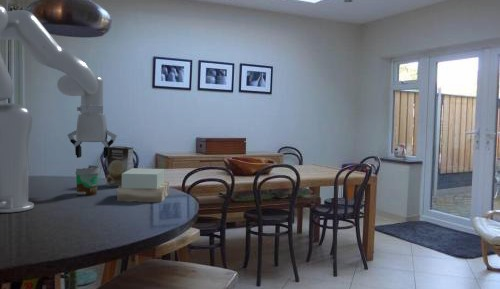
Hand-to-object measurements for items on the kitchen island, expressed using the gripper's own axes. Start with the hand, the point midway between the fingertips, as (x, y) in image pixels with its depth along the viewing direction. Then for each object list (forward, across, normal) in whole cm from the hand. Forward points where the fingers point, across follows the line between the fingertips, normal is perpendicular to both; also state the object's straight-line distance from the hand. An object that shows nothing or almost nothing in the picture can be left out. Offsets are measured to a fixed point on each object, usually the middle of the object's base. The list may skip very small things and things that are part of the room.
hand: (92, 157), depth 161 cm
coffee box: (+14, +4, +21) cm, 26 cm away
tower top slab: (+9, +20, -4) cm, 22 cm away
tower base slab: (+14, +20, -4) cm, 25 cm away
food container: (+14, 0, -1) cm, 14 cm away
